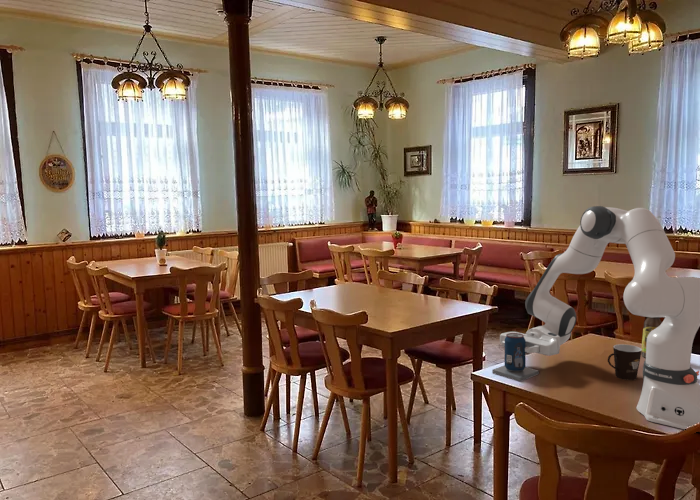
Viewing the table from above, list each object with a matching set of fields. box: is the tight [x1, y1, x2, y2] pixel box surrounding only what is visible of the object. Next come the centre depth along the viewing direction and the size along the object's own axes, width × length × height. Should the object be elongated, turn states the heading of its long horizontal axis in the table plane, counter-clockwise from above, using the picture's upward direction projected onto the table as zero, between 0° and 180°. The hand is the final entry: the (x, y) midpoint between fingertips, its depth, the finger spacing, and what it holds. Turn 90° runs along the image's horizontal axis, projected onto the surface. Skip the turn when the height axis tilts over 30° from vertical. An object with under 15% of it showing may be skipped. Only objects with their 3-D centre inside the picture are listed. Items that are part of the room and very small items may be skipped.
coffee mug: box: [607, 343, 642, 381], centre depth 192 cm, size 12×9×10 cm
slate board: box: [491, 364, 540, 382], centre depth 197 cm, size 11×11×1 cm
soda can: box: [504, 332, 527, 372], centre depth 197 cm, size 7×7×12 cm
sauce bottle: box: [641, 317, 663, 359], centre depth 212 cm, size 6×6×20 cm
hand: (514, 347), depth 195 cm, fingers open, 8 cm apart
